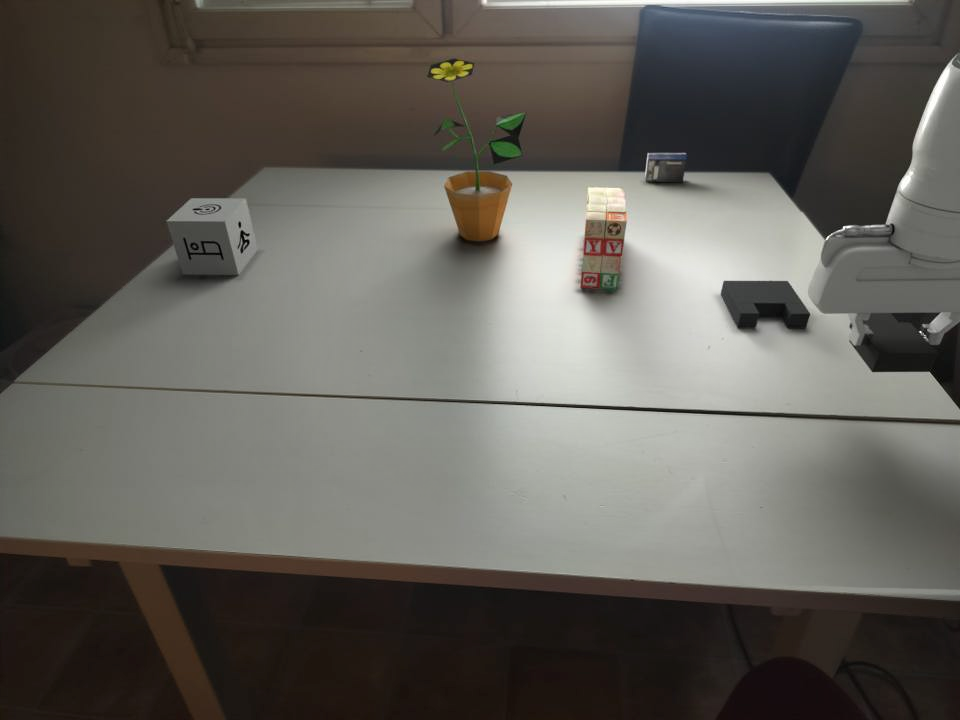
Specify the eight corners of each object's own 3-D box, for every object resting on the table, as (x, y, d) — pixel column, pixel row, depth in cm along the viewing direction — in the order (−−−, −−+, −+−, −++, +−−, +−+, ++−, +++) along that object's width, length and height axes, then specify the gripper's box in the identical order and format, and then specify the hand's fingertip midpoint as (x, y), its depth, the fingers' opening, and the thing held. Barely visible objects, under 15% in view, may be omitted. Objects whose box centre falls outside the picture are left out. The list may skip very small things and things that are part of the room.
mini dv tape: (645, 181, 148) (648, 155, 145) (644, 179, 150) (647, 152, 146) (682, 181, 148) (687, 155, 144) (681, 179, 149) (685, 152, 146)
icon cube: (183, 274, 116) (166, 221, 111) (205, 249, 125) (191, 198, 119) (238, 275, 116) (224, 221, 110) (257, 249, 124) (245, 198, 118)
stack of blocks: (584, 233, 127) (589, 170, 120) (617, 235, 126) (624, 171, 119) (580, 288, 110) (585, 218, 102) (618, 290, 109) (627, 220, 102)
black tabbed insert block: (890, 326, 78) (897, 308, 77) (929, 372, 71) (938, 352, 70) (838, 327, 79) (844, 308, 77) (872, 372, 71) (879, 353, 70)
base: (783, 294, 107) (787, 280, 105) (806, 328, 98) (810, 313, 97) (720, 294, 107) (723, 280, 106) (737, 327, 99) (740, 313, 98)
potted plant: (412, 233, 128) (397, 67, 111) (484, 207, 138) (482, 50, 121) (472, 264, 117) (466, 85, 100) (546, 233, 127) (553, 65, 110)
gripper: (842, 239, 63) (806, 359, 71) (1069, 236, 62) (1006, 358, 69) (817, 213, 68) (786, 327, 76) (1026, 209, 67) (972, 325, 75)
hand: (893, 342), depth 73 cm, fingers closed on black tabbed insert block, 6 cm apart
